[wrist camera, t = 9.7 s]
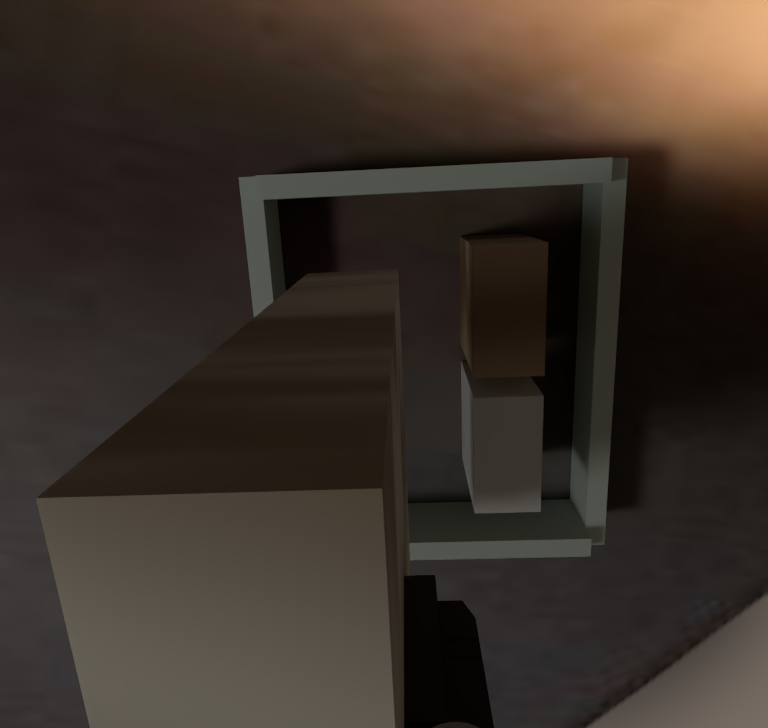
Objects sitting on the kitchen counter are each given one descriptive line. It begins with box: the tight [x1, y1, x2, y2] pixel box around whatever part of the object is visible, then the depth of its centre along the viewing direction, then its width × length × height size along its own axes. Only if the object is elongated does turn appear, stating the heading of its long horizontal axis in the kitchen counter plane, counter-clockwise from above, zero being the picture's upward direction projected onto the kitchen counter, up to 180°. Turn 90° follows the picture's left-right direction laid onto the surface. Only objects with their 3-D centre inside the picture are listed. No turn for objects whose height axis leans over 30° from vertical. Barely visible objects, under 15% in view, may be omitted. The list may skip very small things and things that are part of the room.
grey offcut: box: [461, 361, 544, 513], centre depth 29 cm, size 6×3×6 cm, turn 3°
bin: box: [239, 157, 628, 560], centre depth 29 cm, size 19×17×4 cm
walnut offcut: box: [460, 233, 548, 378], centre depth 27 cm, size 6×3×6 cm, turn 3°
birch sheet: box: [36, 269, 411, 728], centre depth 14 cm, size 12×3×15 cm, turn 3°
